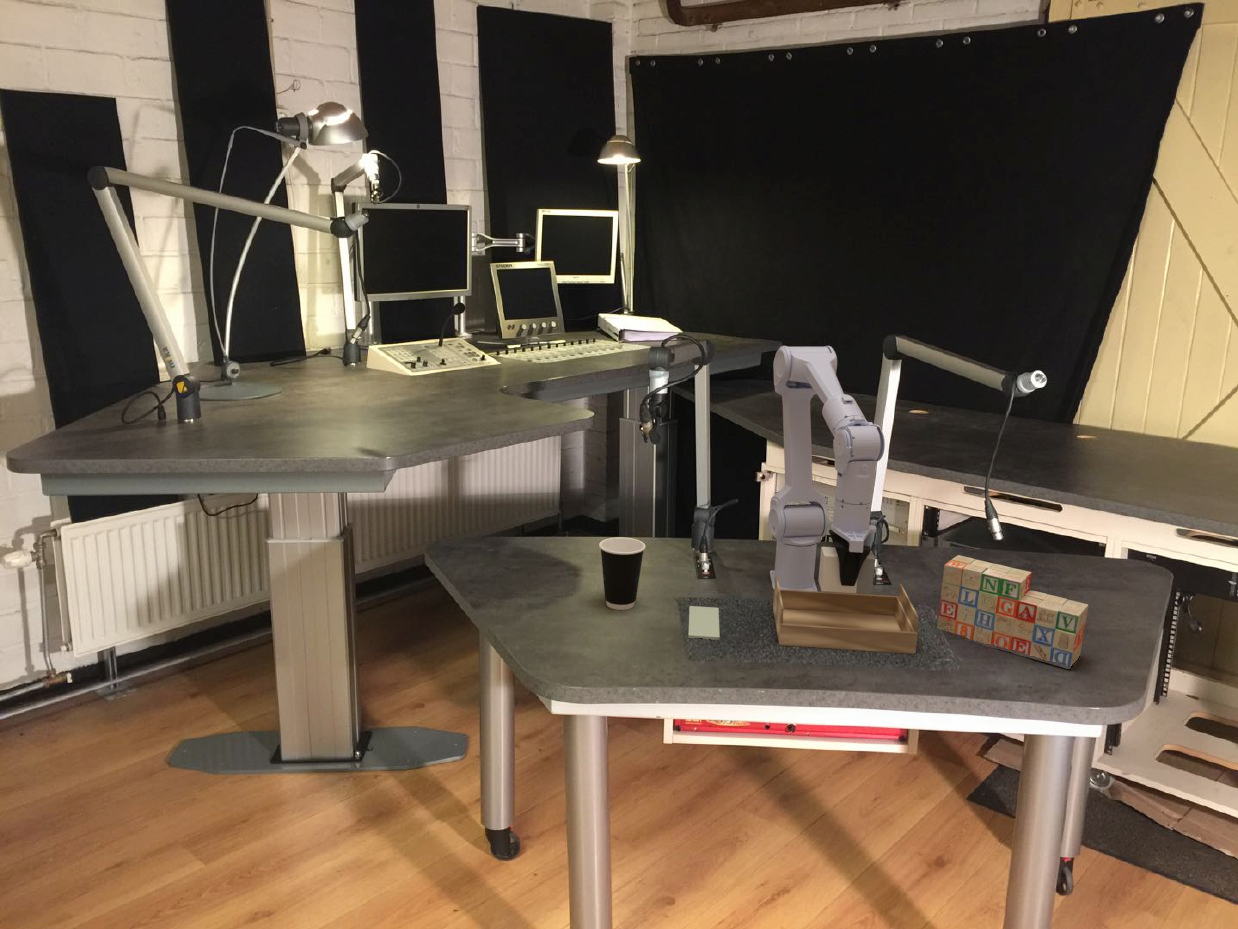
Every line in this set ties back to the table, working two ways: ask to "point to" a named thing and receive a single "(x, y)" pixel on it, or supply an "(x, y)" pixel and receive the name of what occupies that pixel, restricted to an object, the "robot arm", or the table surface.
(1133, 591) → the table surface
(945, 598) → the stack of blocks
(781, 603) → the wooden crate
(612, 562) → the dixie cup
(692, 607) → the panel
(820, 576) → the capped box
